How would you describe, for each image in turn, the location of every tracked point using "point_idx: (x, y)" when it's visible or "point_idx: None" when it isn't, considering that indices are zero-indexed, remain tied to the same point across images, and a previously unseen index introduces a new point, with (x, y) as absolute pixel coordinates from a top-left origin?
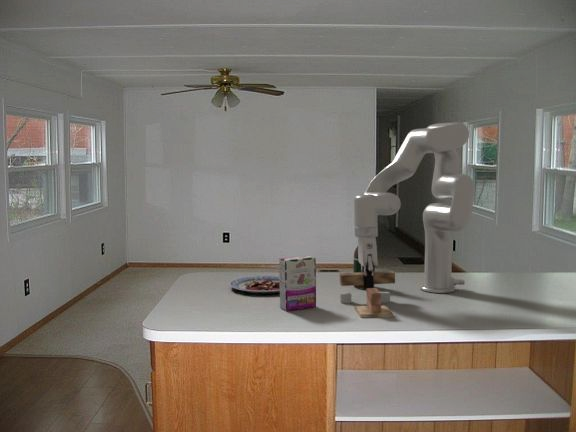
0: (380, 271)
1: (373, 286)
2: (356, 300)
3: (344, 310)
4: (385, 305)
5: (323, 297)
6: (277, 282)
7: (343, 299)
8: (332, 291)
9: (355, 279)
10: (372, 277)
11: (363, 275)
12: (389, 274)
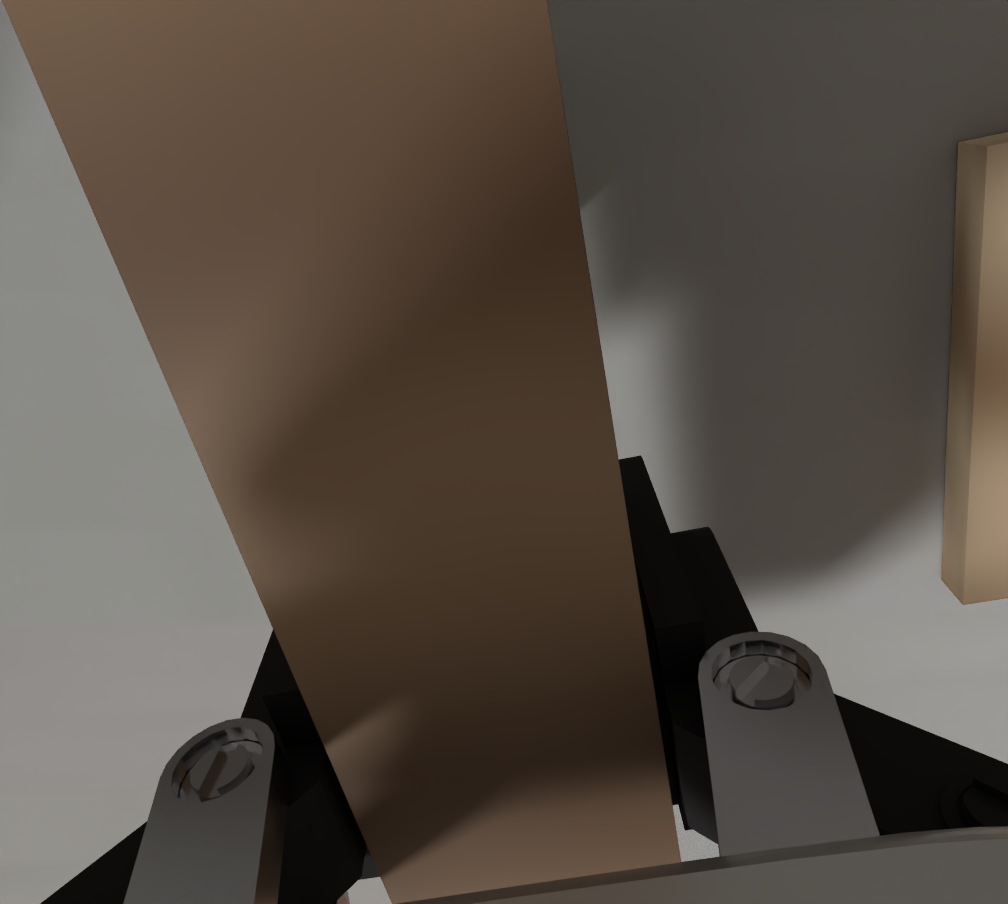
0: (223, 429)
1: (641, 458)
2: None
3: (991, 681)
4: (1001, 151)
5: (378, 883)
6: None
7: None
8: (44, 823)
9: None
10: (693, 606)
11: (674, 836)
12: (549, 40)
